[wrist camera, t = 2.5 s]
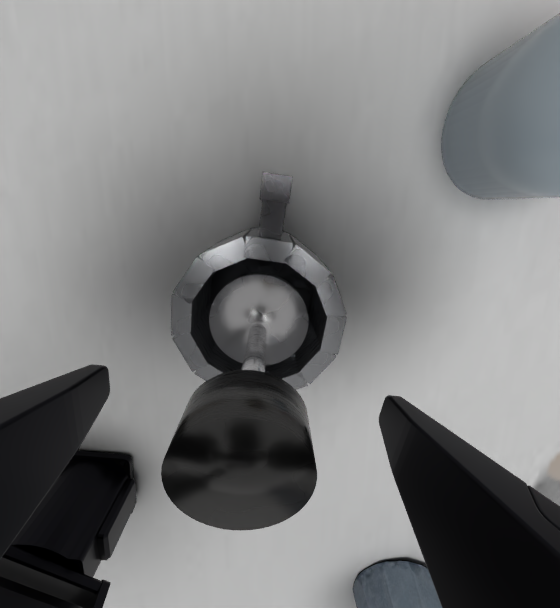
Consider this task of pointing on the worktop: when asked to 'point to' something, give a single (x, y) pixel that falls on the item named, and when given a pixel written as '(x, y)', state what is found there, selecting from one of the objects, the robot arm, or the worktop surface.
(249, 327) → the plunger
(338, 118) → the worktop surface
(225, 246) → the press carafe
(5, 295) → the worktop surface
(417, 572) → the moka pot
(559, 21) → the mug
